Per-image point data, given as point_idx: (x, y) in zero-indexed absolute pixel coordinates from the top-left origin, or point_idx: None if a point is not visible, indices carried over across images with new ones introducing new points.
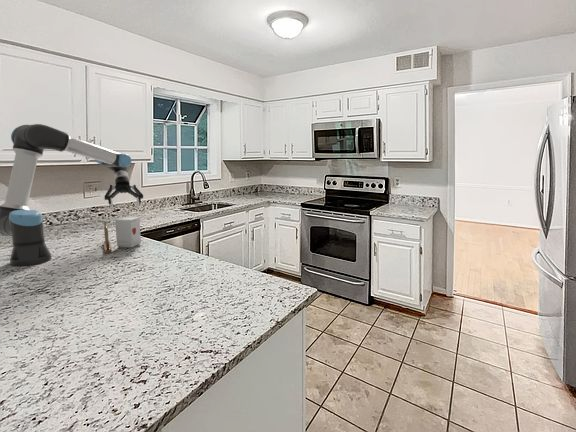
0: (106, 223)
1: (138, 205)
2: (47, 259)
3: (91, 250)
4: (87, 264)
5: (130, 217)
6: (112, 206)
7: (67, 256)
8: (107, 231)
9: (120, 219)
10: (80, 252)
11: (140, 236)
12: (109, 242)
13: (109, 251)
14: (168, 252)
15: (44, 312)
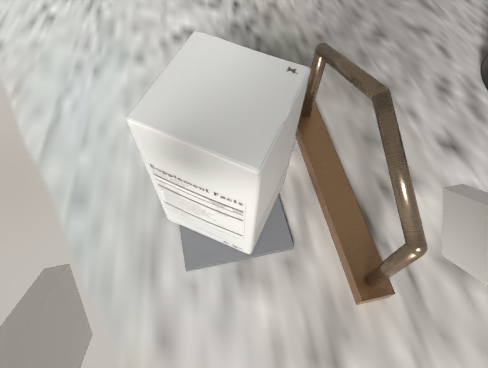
0: (362, 81)
1: (61, 266)
2: (484, 66)
3: None
4: (326, 15)
5: (200, 113)
6: (455, 189)
7: (447, 109)
8: (321, 48)
9: (269, 56)
10: (427, 153)
11: (160, 198)
12: (346, 253)
13: None
14: (67, 62)
15: None
